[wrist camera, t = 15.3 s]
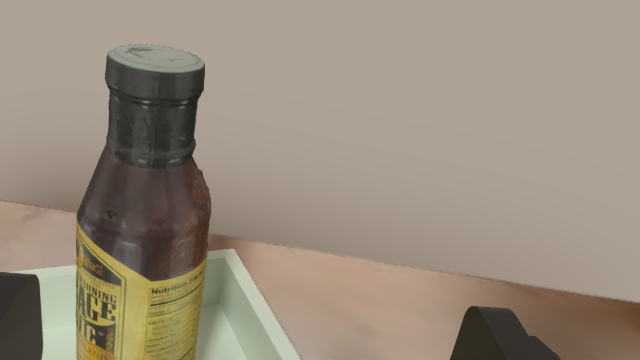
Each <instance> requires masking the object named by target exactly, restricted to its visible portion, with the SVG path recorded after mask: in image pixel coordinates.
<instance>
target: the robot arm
mask: <svg viewBox="0 0 640 360" xmlns="http://www.w3.org/2000/svg"><path fill="white" fill-rule="evenodd" d="M42 354H43V330H42V314H41V297H40V283H39V279H38V277H37V275H35V274H22V273H8V272H0V360H42ZM450 360H560V358H559V357H558V355H556V354H555V353H554V352H553V351H552V350H551V349H549V348H548V347H547V346H546V345H545V344H544V343H542V342H541V341H540V340H539V339H538V338H537V337H535V336H528V334H527V333H526V331H525V329H524V328H523V326H522V325H521V323H520V322H519V320H518V319H517V317H516V316H515V314H514V313H513V311H511V310H510V309H507V308H493V307H478V306H471V307H470V308H468V310H467V311H466V313H465V316H464V318H463V322H462V325H461V328H460V331H459V334H458V337H457V340H456V343H455V346H454V349H453V352H452V355H451V358H450Z"/></svg>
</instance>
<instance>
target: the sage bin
mask: <svg viewBox="0 0 640 360" xmlns="http://www.w3.org/2000/svg"><path fill="white" fill-rule="evenodd" d="M76 266H77V265H73V266H63V267H54V268H44V269H35V270H25V271H16V272H8V273H22V274H35V275H37V277H38V279H39V283H40V297H41V314H42V330H43V354H42V360H76ZM195 360H301V359H300V358H299V356H298V355H297V353H296V351H295V350H294V348H293V346H292V345H291V343H290V341H289V340H288V338H287V336H286V335H285V333H284V331H283V330H282V328H281V326H280V325H279V323H278V321H277V320H276V318H275V316H274V315H273V313H272V311H271V310H270V308H269V306H268V305H267V303H266V301H265V300H264V298H263V297H262V295H261V293H260V292H259V290H258V288H257V287H256V285H255V283H254V282H253V280H252V278H251V277H250V275H249V273H248V272H247V270H246V268H245V267H244V265H243V263H242V262H241V260H240V258H239V257H238V255H237V253H236V252H235V250H234V248H233V249H224V250H214V251H208V257H207V266H206V273H205V281H204V289H203V297H202V305H201V314H200V322H199V329H198V337H197V345H196V353H195Z"/></svg>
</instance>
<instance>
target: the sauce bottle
mask: <svg viewBox="0 0 640 360" xmlns="http://www.w3.org/2000/svg"><path fill="white" fill-rule="evenodd" d="M204 76H205V64H204V62H203V61H202V60H201V59H200V58H198V57H197V56H196V55H193V54H192V53H189V52H186V51H183V50H178V49H174V48H170V47H165V46H158V45H147V44H146V45H145V44H134V45H132V44H128V45H124V46H119V47H116V48H114V49H112V50H110V51H109V52H108V55H107V62H106V72H105V80H106V83H107V86H108V88H109V90H110V95H109V97H110V99H109V128H108V134H107V138H106V139H107V142H106V145H105V147H104V150H103V152H102V154H101V157H100V159H99V161H98V164H97V166H96V169H95V171H94V174H93V176H92V179H91V181H90V183H89V186H88V188H87V191H86V193H85V196H84V198H83V200H82V203H81V205H80V207H79V210H78V212H77V231H76V256H77V259H76V265H77V266H76V360H195V353H196V345H197V337H198V329H199V322H200V314H201V305H202V297H203V289H204V281H205V273H206V266H207V257H208V242H207V238H208V230H209V221H210V215H211V198H210V194H209V189H208V187H207V185H206V182H205V180H204V177H203V173H202V171H201V170H199V169H198V167H197V165H196V163H195V161H194V159H193V157H192V154H193V151H194V149H195V146H196V142H195V139H194V131H195V123H196V111H197V102H198V99H199V97H200V96H201V93H202V92H203V90H204Z"/></svg>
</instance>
